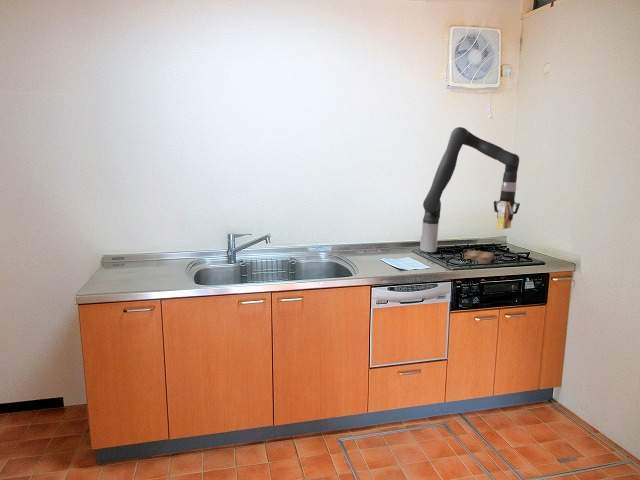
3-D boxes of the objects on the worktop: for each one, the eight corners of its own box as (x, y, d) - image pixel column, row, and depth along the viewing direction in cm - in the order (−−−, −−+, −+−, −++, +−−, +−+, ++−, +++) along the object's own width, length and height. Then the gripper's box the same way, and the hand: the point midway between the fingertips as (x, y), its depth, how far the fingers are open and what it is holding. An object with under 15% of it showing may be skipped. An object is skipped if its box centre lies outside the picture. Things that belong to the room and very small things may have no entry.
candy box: (504, 226, 266) (507, 200, 263) (511, 228, 263) (514, 201, 260) (496, 228, 261) (499, 201, 258) (503, 229, 258) (506, 202, 255)
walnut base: (463, 259, 263) (463, 254, 263) (468, 254, 275) (468, 249, 275) (489, 263, 257) (489, 257, 256) (493, 258, 269) (493, 253, 268)
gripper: (493, 189, 258) (490, 219, 261) (521, 191, 251) (517, 222, 255) (495, 188, 264) (492, 218, 268) (522, 190, 258) (519, 220, 261)
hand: (504, 220), depth 261 cm, fingers closed on candy box, 5 cm apart
